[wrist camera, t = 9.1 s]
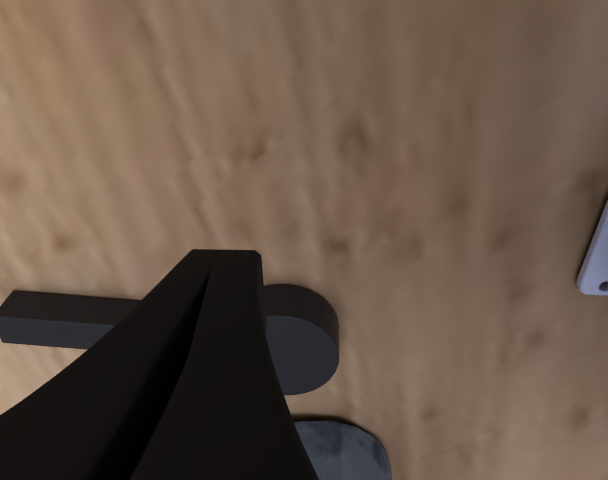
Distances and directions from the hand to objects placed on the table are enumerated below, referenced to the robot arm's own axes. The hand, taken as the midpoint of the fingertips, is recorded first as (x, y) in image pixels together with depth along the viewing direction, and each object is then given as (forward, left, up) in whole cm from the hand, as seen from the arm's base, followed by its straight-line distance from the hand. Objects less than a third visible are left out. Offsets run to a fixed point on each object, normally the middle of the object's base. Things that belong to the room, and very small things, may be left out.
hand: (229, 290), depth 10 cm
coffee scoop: (+4, +9, -9) cm, 14 cm away
